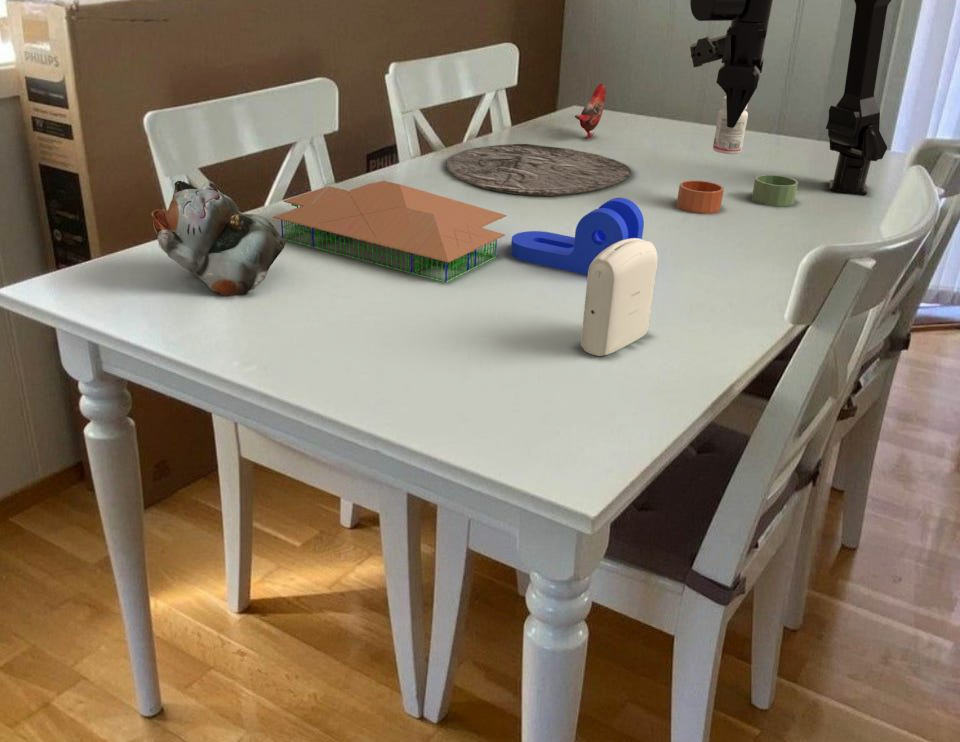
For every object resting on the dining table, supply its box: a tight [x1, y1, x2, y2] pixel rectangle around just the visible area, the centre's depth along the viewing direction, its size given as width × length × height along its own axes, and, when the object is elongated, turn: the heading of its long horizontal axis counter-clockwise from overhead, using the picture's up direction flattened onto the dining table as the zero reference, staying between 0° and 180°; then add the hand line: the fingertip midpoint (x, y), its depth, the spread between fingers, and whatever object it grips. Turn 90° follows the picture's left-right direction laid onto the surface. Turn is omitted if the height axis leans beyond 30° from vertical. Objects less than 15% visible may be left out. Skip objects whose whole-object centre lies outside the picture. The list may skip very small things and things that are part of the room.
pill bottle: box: [712, 95, 749, 155], centre depth 168 cm, size 5×5×8 cm
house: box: [272, 180, 507, 283], centre depth 149 cm, size 23×33×8 cm
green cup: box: [751, 174, 799, 207], centre depth 178 cm, size 7×7×4 cm
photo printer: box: [580, 238, 659, 357], centre depth 119 cm, size 10×4×12 cm, turn 140°
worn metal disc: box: [445, 143, 632, 197], centre depth 189 cm, size 33×35×1 cm
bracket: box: [510, 197, 645, 276], centre depth 145 cm, size 18×8×9 cm, turn 62°
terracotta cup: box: [676, 179, 725, 214], centre depth 172 cm, size 7×7×4 cm
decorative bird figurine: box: [574, 83, 607, 140], centre depth 209 cm, size 3×18×10 cm, turn 156°
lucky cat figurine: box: [150, 180, 287, 297], centre depth 131 cm, size 15×12×14 cm
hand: (731, 124), depth 168 cm, fingers closed on pill bottle, 5 cm apart
